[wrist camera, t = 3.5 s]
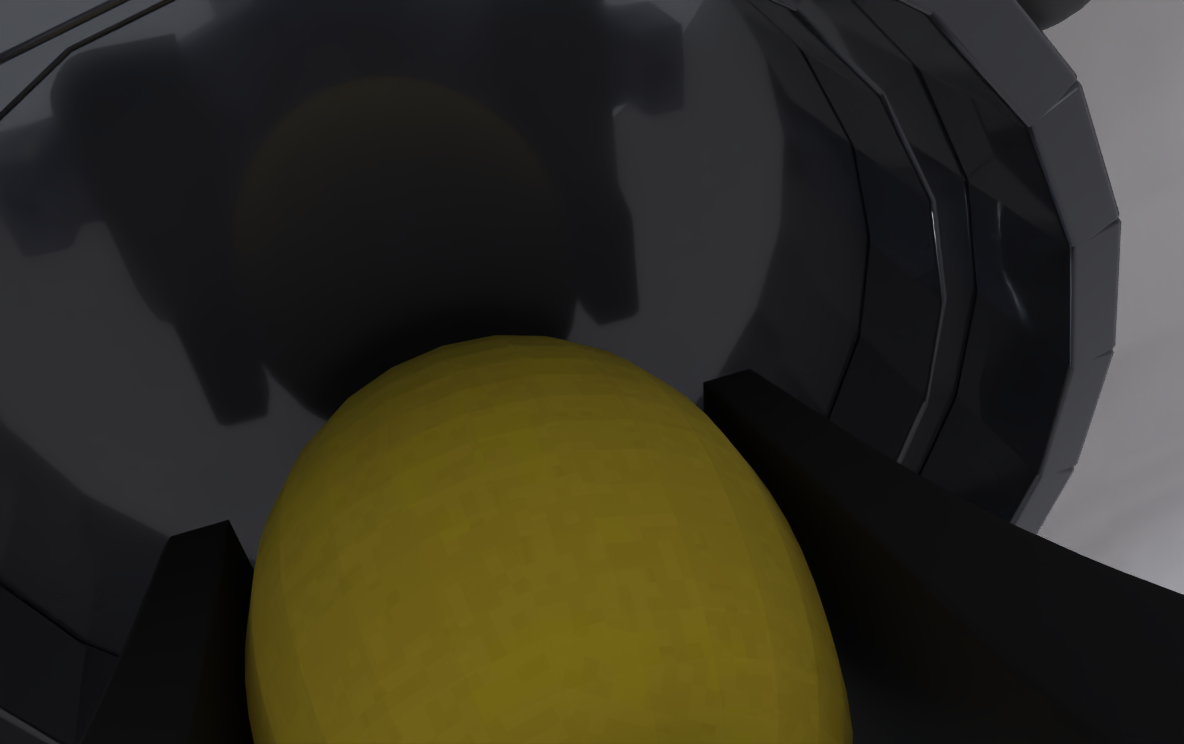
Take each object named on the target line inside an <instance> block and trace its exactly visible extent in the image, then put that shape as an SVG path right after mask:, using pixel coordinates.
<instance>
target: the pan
mask: <svg viewBox="0 0 1184 744" xmlns="http://www.w3.org/2000/svg"><path fill="white" fill-rule="evenodd" d="M1118 217H1119V211H1118V207H1117V204H1116V201H1115V197H1114V194H1113V190H1112V187H1111V184H1110V180H1109V177H1108V173H1107V170H1106V167H1105V163H1104V160H1103V156H1102V153H1101V150H1100V146H1099V143H1098V139H1097V136H1096V133H1095V129H1094V126H1093V122H1092V119H1091V115H1090V112H1089V109H1088V105H1087V102H1086V98H1085V95H1084V92H1083V88H1082V85H1081V84H1080V82H1079V81H1077V76H1076V74H1075V72H1074V71H1073V69H1072V68H1071V67H1070V66H1069V64H1068V63H1067V62H1066V61H1065V59H1064V58H1063V57H1062V55H1061V54H1060V53H1059V52H1058V50H1057V49H1056V48H1055V47H1054V45H1053V44H1052V43H1051V42H1050V40H1049V39H1048V38H1047V36H1046V35H1045V34H1044V33H1043V31H1042V30H1041V29H1040V28H1039V26H1038V25H1037V24H1036V23H1035V21H1034V20H1033V19H1032V17H1031V16H1030V15H1029V14H1028V12H1027V11H1026V10H1025V9H1024V7H1023V6H1022V5H1021V4H1020V2H1019V1H1018V0H0V744H79V742H80V740H81V738H82V736H83V734H84V732H85V730H86V727H87V725H88V723H89V721H90V719H91V717H92V715H93V713H94V710H95V708H96V706H97V704H98V702H99V699H100V697H101V695H102V693H103V691H104V689H105V686H106V684H107V682H108V680H109V678H110V676H111V673H112V671H113V669H114V667H115V665H116V662H117V660H118V658H119V656H120V654H121V651H122V649H123V647H124V644H125V642H126V639H127V637H128V635H129V632H130V630H131V628H132V625H133V623H134V621H135V618H136V616H137V613H138V611H139V608H140V606H141V604H142V601H143V599H144V596H145V594H146V591H147V589H148V586H149V584H150V581H151V578H152V576H153V573H154V571H155V568H156V566H157V563H158V560H159V558H160V555H161V553H162V550H163V547H164V546H165V544H166V543H167V541H168V540H169V538H170V537H171V536H174V535H177V534H180V533H184V532H187V531H191V530H194V529H198V528H201V527H205V526H208V525H212V524H215V523H218V522H222V521H225V520H229V521H230V523H231V525H232V527H233V529H234V531H235V533H236V535H237V537H238V539H239V541H240V543H241V545H242V547H243V549H244V551H245V553H246V555H247V557H248V559H249V562H250V564H251V566H252V568H253V570H254V567H255V563H256V558H257V553H258V548H259V543H260V539H261V536H262V533H263V530H264V527H265V524H266V521H267V519H268V516H269V513H270V511H271V509H272V507H273V505H274V503H275V501H276V499H277V497H278V495H279V493H280V491H281V489H282V487H283V485H284V483H285V481H286V479H287V477H288V475H289V473H290V471H291V469H292V467H293V465H294V463H295V461H296V459H297V458H298V456H299V454H300V452H301V450H302V449H303V448H304V447H305V445H306V444H307V443H308V442H309V441H310V440H311V439H312V438H313V437H314V435H315V434H316V433H317V432H318V431H319V430H320V429H321V428H322V426H323V425H324V424H325V423H326V422H327V421H328V420H329V419H330V418H331V416H332V415H333V414H334V413H335V412H336V411H337V410H338V409H339V408H340V406H341V405H342V404H343V403H344V402H345V401H346V400H347V399H348V398H349V397H350V396H352V395H353V394H355V393H356V392H357V391H359V390H360V389H362V388H363V387H365V386H366V385H367V384H369V383H370V382H372V381H373V380H375V379H376V378H377V377H379V376H380V375H382V374H383V373H385V372H386V371H387V370H389V369H390V368H392V367H394V366H396V365H399V364H401V363H403V362H406V361H408V360H410V359H413V358H415V357H417V356H420V355H422V354H424V353H427V352H429V351H431V350H434V349H436V348H438V347H441V346H444V345H449V344H454V343H459V342H464V341H469V340H474V339H479V338H484V337H488V336H493V335H513V336H548V337H553V338H558V339H562V340H566V341H570V342H574V343H578V344H582V345H586V346H590V347H594V348H598V349H602V350H606V351H609V352H611V353H613V354H615V355H618V356H620V357H622V358H624V359H626V360H628V361H630V362H631V363H633V364H635V365H636V366H638V367H640V368H642V369H643V370H645V371H647V372H648V373H650V374H652V375H654V376H655V377H657V378H659V379H660V380H662V381H664V382H665V383H667V384H669V385H670V386H671V387H673V388H674V389H676V390H677V391H679V392H680V393H682V394H683V395H684V396H686V397H687V398H688V399H689V400H691V401H692V402H693V403H694V404H695V405H696V406H697V407H698V408H699V409H701V410H702V411H703V412H704V400H703V382H706V381H709V380H713V379H716V378H720V377H723V376H726V375H730V374H733V373H737V372H740V371H744V370H747V369H751V370H753V371H754V372H756V373H757V374H759V375H761V376H762V377H764V378H765V379H767V380H768V381H770V382H771V383H773V384H774V385H776V386H778V387H779V388H781V389H782V390H784V391H785V392H787V393H788V394H790V395H791V396H793V397H794V398H796V399H797V400H799V401H801V402H802V403H804V404H805V405H807V406H808V407H810V408H811V409H813V410H814V411H816V412H817V413H819V414H821V415H822V416H824V417H825V418H827V419H828V420H830V421H832V422H833V423H835V424H836V425H838V426H839V427H841V428H842V429H844V430H846V431H847V432H849V433H850V434H852V435H854V436H855V437H857V438H858V439H860V440H862V441H863V442H865V443H866V444H868V445H870V446H871V447H873V448H875V449H876V450H878V451H880V452H881V453H883V454H885V455H886V456H888V457H890V458H891V459H893V460H895V461H896V462H898V463H900V464H901V465H903V466H905V467H906V468H908V469H910V470H912V471H913V472H915V473H917V474H919V475H921V476H922V477H924V478H926V479H928V480H929V481H931V482H933V483H935V484H937V485H938V486H940V487H942V488H944V489H946V490H948V491H950V492H952V493H953V494H955V495H957V496H959V497H961V498H963V499H965V500H967V501H968V502H970V503H972V504H974V505H976V506H978V507H980V508H982V509H984V510H985V511H987V512H989V513H991V514H993V515H995V516H997V517H1000V518H1002V519H1004V520H1006V521H1008V522H1010V523H1012V524H1014V525H1016V526H1018V527H1020V528H1022V529H1025V530H1027V531H1029V532H1031V533H1033V534H1036V535H1037V533H1038V531H1039V529H1040V528H1041V526H1042V524H1043V523H1044V521H1045V519H1046V517H1047V516H1048V514H1049V512H1050V510H1051V509H1052V507H1053V505H1054V504H1055V502H1056V500H1057V498H1058V497H1059V495H1060V493H1061V492H1062V490H1063V488H1064V486H1065V485H1066V483H1067V481H1068V479H1069V478H1070V476H1071V474H1072V473H1073V471H1074V466H1075V465H1076V464H1077V463H1078V460H1079V457H1080V454H1081V451H1082V448H1083V445H1084V442H1085V438H1086V435H1087V432H1088V429H1089V426H1090V423H1091V420H1092V417H1093V414H1094V411H1095V408H1096V405H1097V402H1098V399H1099V396H1100V392H1101V389H1102V386H1103V383H1104V380H1105V377H1106V374H1107V371H1108V368H1109V365H1110V362H1111V359H1112V356H1113V348H1114V346H1115V339H1116V319H1117V298H1118V277H1119V257H1120V236H1121V221H1120V219H1119V218H1118Z"/></svg>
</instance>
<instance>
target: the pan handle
mask: <svg viewBox="0 0 1184 744" xmlns="http://www.w3.org/2000/svg"><path fill="white" fill-rule="evenodd" d="M1018 1H1019V2H1020V4H1021V5H1022V6H1023V7H1024V9H1025V10H1026V11H1027V12H1028V14H1029V15H1030V16H1031V17H1032V19H1033V20H1034V21H1035V23H1036V24H1037V25H1038V26H1039V28H1040V29H1041V30H1045V29H1047V28H1049V27H1051V26H1054V25H1056V24H1058V23H1060V22H1062V21H1063V20H1065V19H1066V18H1068V17H1069V16H1071V15H1072V14H1074V13H1075V12H1077V11H1078V10H1080V9H1081V8H1083V7H1084V6H1085V5H1086V4H1087V3H1088V2H1089V1H1090V0H1018Z"/></svg>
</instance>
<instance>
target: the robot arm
mask: <svg viewBox="0 0 1184 744" xmlns="http://www.w3.org/2000/svg"><path fill="white" fill-rule="evenodd" d="M703 400H704V413H705V414H706V415H707V416H708V417H709V418H710V419H711V420H712V422H713V423H714V424H715V425H716V426H717V427H718V428H719V429H720V430H721V432H722V433H723V434H724V435H725V436H726V437H727V438H728V440H729V441H730V442H731V443H732V445H733V446H734V447H735V448H736V449H737V451H738V452H739V453H740V454H741V455H742V457H743V458H744V459H745V460H746V461H747V463H748V464H749V465H750V466H751V467H752V469H753V470H754V471H755V473H756V474H757V475H758V477H759V478H760V479H761V481H762V482H763V483H764V485H765V486H766V488H767V489H768V490H769V492H770V493H771V494H772V496H773V498H774V499H775V501H776V503H777V504H778V506H779V508H780V509H781V511H782V513H783V514H784V516H785V518H786V519H787V521H788V523H789V525H790V527H791V529H792V532H793V534H794V536H795V538H796V540H797V542H798V544H799V546H800V548H801V550H802V552H803V555H804V557H805V560H806V562H807V565H808V567H809V570H810V572H811V574H812V577H813V579H814V582H815V585H816V588H817V591H818V594H819V597H820V600H821V603H822V606H823V609H824V612H825V615H826V618H827V621H828V624H829V628H830V631H831V635H832V638H833V642H834V645H835V649H836V652H837V656H838V659H839V663H840V667H841V671H842V675H843V679H844V683H845V687H846V691H847V696H848V703H849V710H850V717H851V724H852V731H853V744H1184V595H1183V594H1180V593H1177V592H1175V591H1172V590H1169V589H1167V588H1164V587H1161V586H1159V585H1156V584H1153V583H1151V582H1148V581H1145V580H1143V579H1140V578H1137V577H1135V576H1132V575H1129V574H1127V573H1124V572H1121V571H1119V570H1116V569H1114V568H1112V567H1109V566H1107V565H1104V564H1102V563H1099V562H1097V561H1094V560H1092V559H1090V558H1087V557H1085V556H1082V555H1080V554H1078V553H1076V552H1073V551H1071V550H1069V549H1067V548H1064V547H1062V546H1060V545H1058V544H1056V543H1053V542H1051V541H1049V540H1047V539H1045V538H1042V537H1040V536H1038V535H1036V534H1033V533H1031V532H1029V531H1027V530H1025V529H1022V528H1020V527H1018V526H1016V525H1014V524H1012V523H1010V522H1008V521H1006V520H1004V519H1002V518H1000V517H997V516H995V515H993V514H991V513H989V512H987V511H985V510H984V509H982V508H980V507H978V506H976V505H974V504H972V503H970V502H968V501H967V500H965V499H963V498H961V497H959V496H957V495H955V494H953V493H952V492H950V491H948V490H946V489H944V488H942V487H940V486H938V485H937V484H935V483H933V482H931V481H929V480H928V479H926V478H924V477H922V476H921V475H919V474H917V473H915V472H913V471H912V470H910V469H908V468H906V467H905V466H903V465H901V464H900V463H898V462H896V461H895V460H893V459H891V458H890V457H888V456H886V455H885V454H883V453H881V452H880V451H878V450H876V449H875V448H873V447H871V446H870V445H868V444H866V443H865V442H863V441H862V440H860V439H858V438H857V437H855V436H854V435H852V434H850V433H849V432H847V431H846V430H844V429H842V428H841V427H839V426H838V425H836V424H835V423H833V422H832V421H830V420H828V419H827V418H825V417H824V416H822V415H821V414H819V413H817V412H816V411H814V410H813V409H811V408H810V407H808V406H807V405H805V404H804V403H802V402H801V401H799V400H797V399H796V398H794V397H793V396H791V395H790V394H788V393H787V392H785V391H784V390H782V389H781V388H779V387H778V386H776V385H774V384H773V383H771V382H770V381H768V380H767V379H765V378H764V377H762V376H761V375H759V374H757V373H756V372H754V371H753V370H751V369H747V370H744V371H740V372H737V373H733V374H730V375H726V376H723V377H720V378H716V379H713V380H709V381H706V382H703ZM253 575H254V570H253V568H252V566H251V564H250V562H249V559H248V557H247V555H246V553H245V551H244V549H243V547H242V545H241V543H240V541H239V539H238V537H237V535H236V533H235V531H234V529H233V527H232V525H231V523H230V521H229V520H225V521H222V522H218V523H215V524H212V525H208V526H205V527H201V528H198V529H194V530H191V531H187V532H184V533H180V534H177V535H174V536H171V537H170V538H169V540H168V541H167V543H166V544H165V546H164V547H163V550H162V553H161V555H160V558H159V560H158V563H157V566H156V568H155V571H154V573H153V576H152V578H151V581H150V584H149V586H148V589H147V591H146V594H145V596H144V599H143V601H142V604H141V606H140V608H139V611H138V613H137V616H136V618H135V621H134V623H133V625H132V628H131V630H130V632H129V635H128V637H127V639H126V642H125V644H124V647H123V649H122V651H121V654H120V656H119V658H118V660H117V662H116V665H115V667H114V669H113V671H112V673H111V676H110V678H109V680H108V682H107V684H106V686H105V689H104V691H103V693H102V695H101V697H100V699H99V702H98V704H97V706H96V708H95V710H94V713H93V715H92V717H91V719H90V721H89V723H88V725H87V727H86V730H85V732H84V734H83V736H82V738H81V740H80V742H79V744H254V741H253V736H252V731H251V726H250V721H249V715H248V705H247V695H246V686H245V643H246V632H247V622H248V613H249V605H250V598H251V590H252V583H253Z"/></svg>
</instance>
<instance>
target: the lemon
mask: <svg viewBox="0 0 1184 744" xmlns="http://www.w3.org/2000/svg"><path fill="white" fill-rule="evenodd" d="M245 686H246V695H247V705H248V715H249V721H250V726H251V731H252V736H253V741H254V744H853V731H852V724H851V717H850V710H849V703H848V696H847V691H846V687H845V683H844V679H843V675H842V671H841V667H840V663H839V659H838V656H837V652H836V649H835V645H834V642H833V638H832V635H831V631H830V628H829V624H828V621H827V618H826V615H825V612H824V609H823V606H822V603H821V600H820V597H819V594H818V591H817V588H816V585H815V582H814V579H813V577H812V574H811V572H810V570H809V567H808V565H807V562H806V560H805V557H804V555H803V552H802V550H801V548H800V546H799V544H798V542H797V540H796V538H795V536H794V534H793V532H792V529H791V527H790V525H789V523H788V521H787V519H786V518H785V516H784V514H783V513H782V511H781V509H780V508H779V506H778V504H777V503H776V501H775V499H774V498H773V496H772V494H771V493H770V492H769V490H768V489H767V488H766V486H765V485H764V483H763V482H762V481H761V479H760V478H759V477H758V475H757V474H756V473H755V471H754V470H753V469H752V467H751V466H750V465H749V464H748V463H747V461H746V460H745V459H744V458H743V457H742V455H741V454H740V453H739V452H738V451H737V449H736V448H735V447H734V446H733V445H732V443H731V442H730V441H729V440H728V438H727V437H726V436H725V435H724V434H723V433H722V432H721V430H720V429H719V428H718V427H717V426H716V425H715V424H714V423H713V422H712V420H711V419H710V418H709V417H708V416H707V415H706V414H705V413H704V412H703V411H702V410H701V409H699V408H698V407H697V406H696V405H695V404H694V403H693V402H692V401H691V400H689V399H688V398H687V397H686V396H684V395H683V394H682V393H680V392H679V391H677V390H676V389H674V388H673V387H671V386H670V385H669V384H667V383H665V382H664V381H662V380H660V379H659V378H657V377H655V376H654V375H652V374H650V373H648V372H647V371H645V370H643V369H642V368H640V367H638V366H636V365H635V364H633V363H631V362H630V361H628V360H626V359H624V358H622V357H620V356H618V355H615V354H613V353H611V352H609V351H606V350H602V349H598V348H594V347H590V346H586V345H582V344H578V343H574V342H570V341H566V340H562V339H558V338H553V337H548V336H513V335H493V336H488V337H484V338H479V339H474V340H469V341H464V342H459V343H454V344H449V345H444V346H441V347H438V348H436V349H434V350H431V351H429V352H427V353H424V354H422V355H420V356H417V357H415V358H413V359H410V360H408V361H406V362H403V363H401V364H399V365H396V366H394V367H392V368H390V369H389V370H387V371H386V372H385V373H383V374H382V375H380V376H379V377H377V378H376V379H375V380H373V381H372V382H370V383H369V384H367V385H366V386H365V387H363V388H362V389H360V390H359V391H357V392H356V393H355V394H353V395H352V396H350V397H349V398H348V399H347V400H346V401H345V402H344V403H343V404H342V405H341V406H340V408H339V409H338V410H337V411H336V412H335V413H334V414H333V415H332V416H331V418H330V419H329V420H328V421H327V422H326V423H325V424H324V425H323V426H322V428H321V429H320V430H319V431H318V432H317V433H316V434H315V435H314V437H313V438H312V439H311V440H310V441H309V442H308V443H307V444H306V445H305V447H304V448H303V449H302V450H301V452H300V454H299V456H298V458H297V459H296V461H295V463H294V465H293V467H292V469H291V471H290V473H289V475H288V477H287V479H286V481H285V483H284V485H283V487H282V489H281V491H280V493H279V495H278V497H277V499H276V501H275V503H274V505H273V507H272V509H271V511H270V513H269V516H268V519H267V521H266V524H265V527H264V530H263V533H262V536H261V539H260V543H259V548H258V553H257V558H256V563H255V567H254V575H253V583H252V590H251V598H250V605H249V613H248V622H247V632H246V643H245Z"/></svg>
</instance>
